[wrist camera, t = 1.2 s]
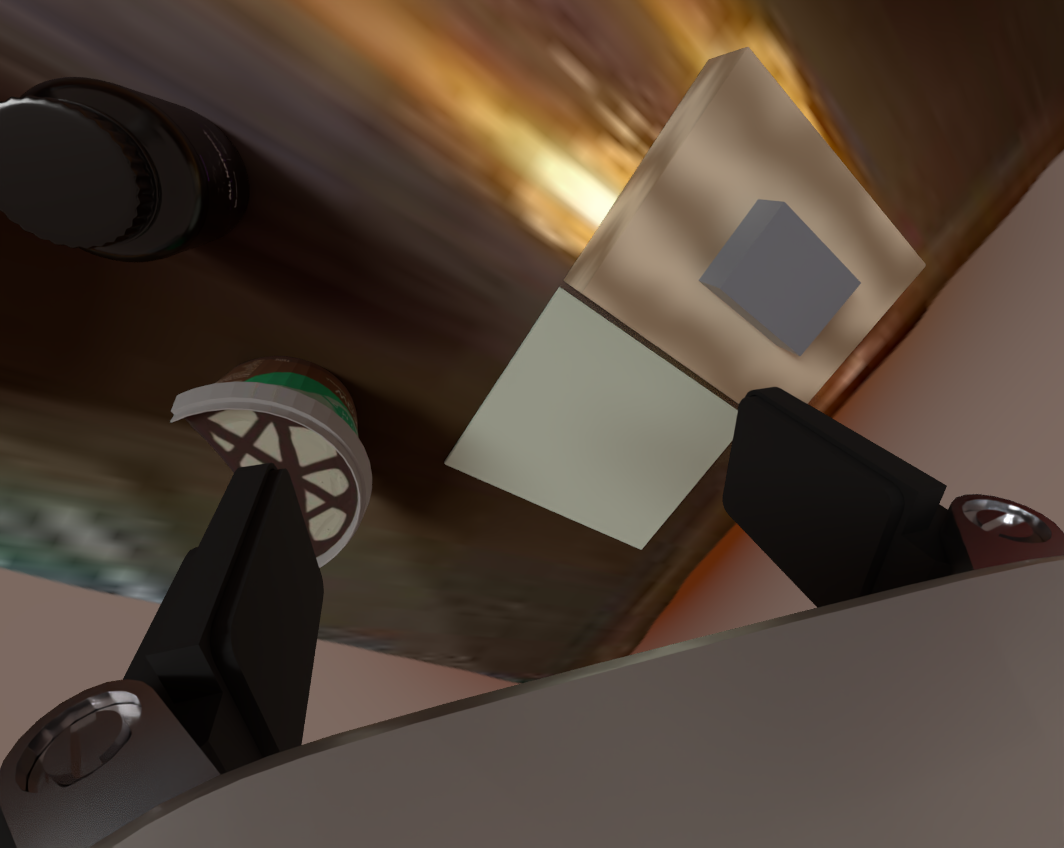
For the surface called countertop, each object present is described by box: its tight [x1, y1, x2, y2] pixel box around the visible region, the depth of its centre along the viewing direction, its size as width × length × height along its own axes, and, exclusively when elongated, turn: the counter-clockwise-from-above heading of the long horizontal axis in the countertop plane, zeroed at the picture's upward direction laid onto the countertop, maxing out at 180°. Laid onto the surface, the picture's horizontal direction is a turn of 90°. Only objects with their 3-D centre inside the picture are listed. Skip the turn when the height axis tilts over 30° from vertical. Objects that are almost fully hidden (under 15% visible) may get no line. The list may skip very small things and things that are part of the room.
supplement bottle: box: [0, 77, 249, 262], centre depth 23 cm, size 7×7×12 cm
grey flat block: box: [699, 199, 861, 356], centre depth 34 cm, size 6×9×2 cm, turn 55°
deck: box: [563, 47, 926, 404], centre depth 37 cm, size 16×22×4 cm
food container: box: [170, 356, 372, 568], centre depth 31 cm, size 12×6×10 cm, turn 23°
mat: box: [444, 287, 738, 550], centre depth 42 cm, size 16×22×1 cm
